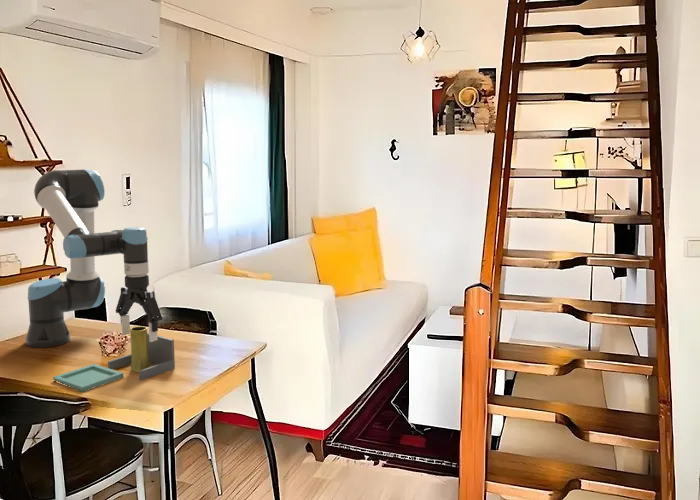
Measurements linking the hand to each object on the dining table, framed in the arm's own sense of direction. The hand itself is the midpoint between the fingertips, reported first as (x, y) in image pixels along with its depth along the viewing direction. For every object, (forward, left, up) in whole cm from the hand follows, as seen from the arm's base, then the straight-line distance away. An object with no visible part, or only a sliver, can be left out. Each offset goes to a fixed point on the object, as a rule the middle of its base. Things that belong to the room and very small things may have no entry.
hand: (139, 337), depth 217 cm
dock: (0, 0, -11) cm, 11 cm away
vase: (0, 0, -11) cm, 11 cm away
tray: (-6, -15, -11) cm, 20 cm away
